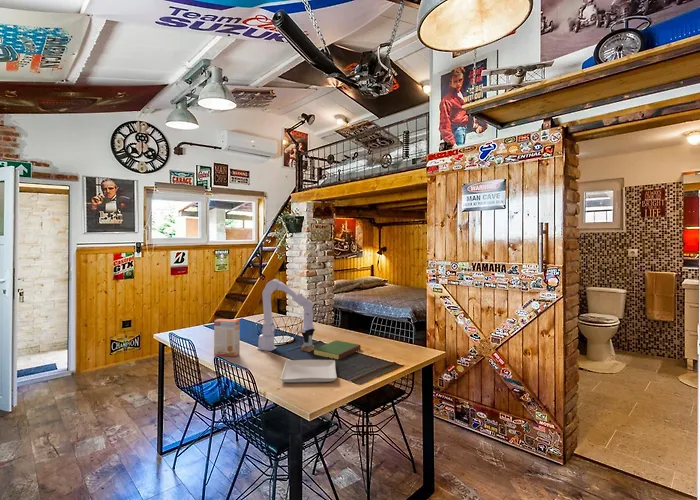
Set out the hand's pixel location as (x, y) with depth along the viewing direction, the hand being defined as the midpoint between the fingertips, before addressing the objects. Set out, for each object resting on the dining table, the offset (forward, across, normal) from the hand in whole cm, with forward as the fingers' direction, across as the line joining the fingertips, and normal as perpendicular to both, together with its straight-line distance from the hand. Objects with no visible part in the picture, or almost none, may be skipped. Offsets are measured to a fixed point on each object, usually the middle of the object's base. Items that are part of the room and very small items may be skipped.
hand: (307, 341), depth 238 cm
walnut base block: (+6, 0, 0) cm, 6 cm away
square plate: (+6, -39, -19) cm, 44 cm away
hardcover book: (+6, +3, -19) cm, 20 cm away
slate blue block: (+3, 0, 0) cm, 3 cm away
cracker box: (+6, -26, +41) cm, 49 cm away
